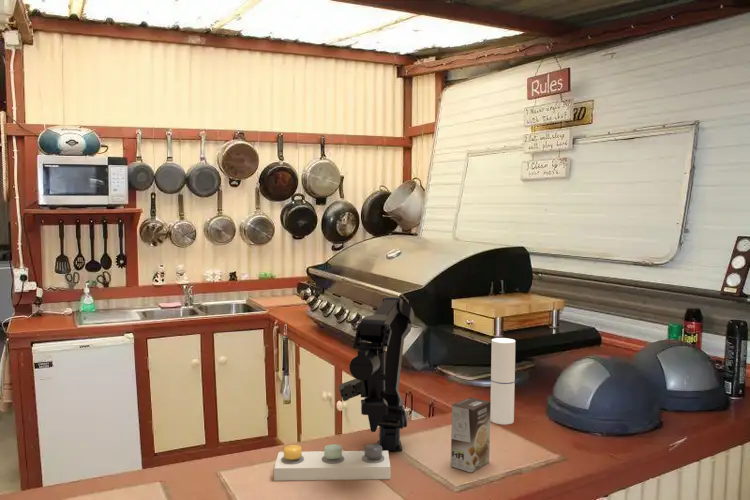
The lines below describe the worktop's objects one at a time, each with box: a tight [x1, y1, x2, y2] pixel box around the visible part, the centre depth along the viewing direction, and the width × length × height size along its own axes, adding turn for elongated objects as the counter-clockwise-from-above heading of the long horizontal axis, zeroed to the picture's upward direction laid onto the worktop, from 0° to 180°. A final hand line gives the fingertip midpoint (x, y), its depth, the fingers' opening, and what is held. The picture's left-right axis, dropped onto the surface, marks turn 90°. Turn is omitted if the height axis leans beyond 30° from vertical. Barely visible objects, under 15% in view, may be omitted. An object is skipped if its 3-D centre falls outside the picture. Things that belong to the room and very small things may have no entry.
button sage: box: [323, 443, 343, 459], centre depth 154 cm, size 4×4×2 cm
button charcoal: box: [363, 443, 382, 459], centre depth 154 cm, size 4×4×2 cm
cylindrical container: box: [490, 337, 516, 425], centre depth 190 cm, size 7×7×25 cm
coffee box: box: [450, 397, 491, 473], centre depth 158 cm, size 9×6×16 cm
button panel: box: [273, 450, 391, 482], centre depth 154 cm, size 10×28×3 cm, turn 92°
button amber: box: [283, 444, 303, 460], centre depth 153 cm, size 4×4×2 cm
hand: (373, 431), depth 154 cm, fingers closed
